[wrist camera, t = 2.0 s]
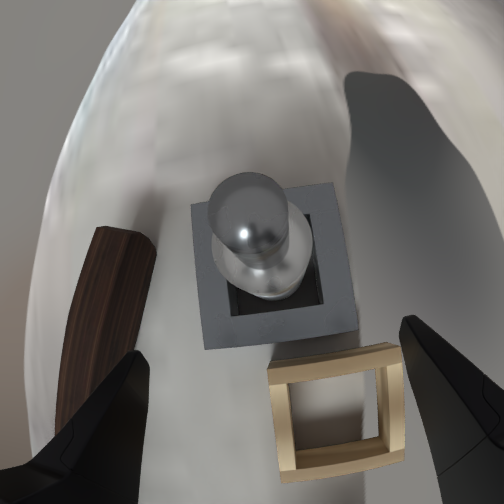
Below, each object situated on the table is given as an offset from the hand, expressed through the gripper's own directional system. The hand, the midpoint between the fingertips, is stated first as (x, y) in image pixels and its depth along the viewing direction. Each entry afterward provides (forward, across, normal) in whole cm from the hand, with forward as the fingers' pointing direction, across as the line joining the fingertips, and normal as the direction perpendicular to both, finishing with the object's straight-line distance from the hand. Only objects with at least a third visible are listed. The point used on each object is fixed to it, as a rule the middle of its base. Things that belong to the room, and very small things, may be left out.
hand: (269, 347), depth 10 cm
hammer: (+3, +14, +13) cm, 19 cm away
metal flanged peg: (+10, 0, +5) cm, 12 cm away
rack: (+3, -3, +12) cm, 13 cm away
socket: (+10, 0, +5) cm, 12 cm away
